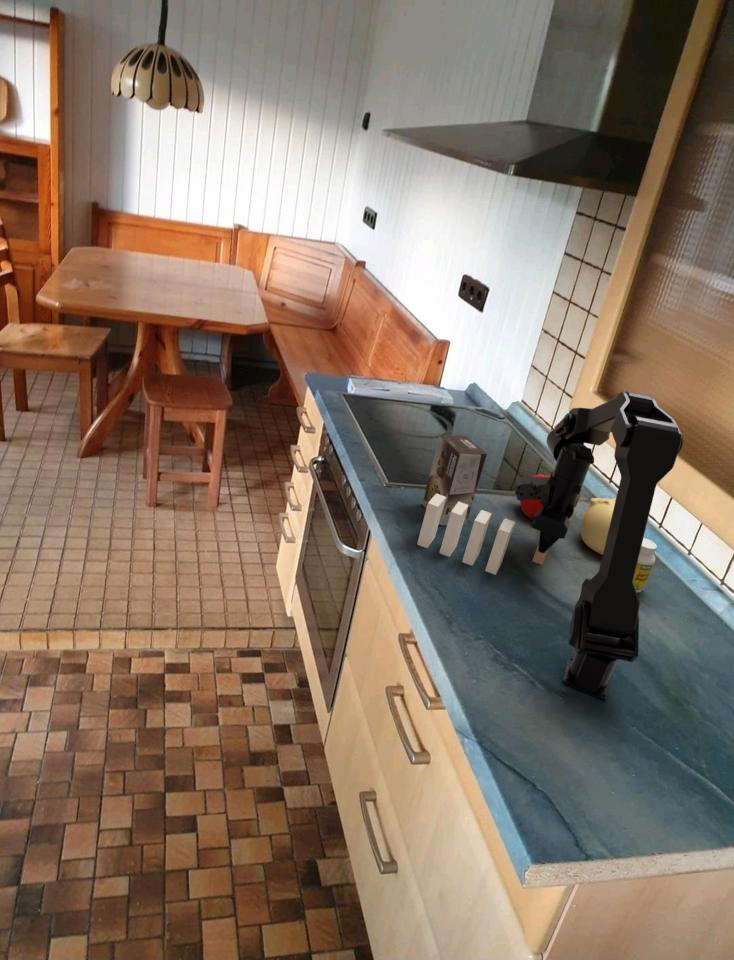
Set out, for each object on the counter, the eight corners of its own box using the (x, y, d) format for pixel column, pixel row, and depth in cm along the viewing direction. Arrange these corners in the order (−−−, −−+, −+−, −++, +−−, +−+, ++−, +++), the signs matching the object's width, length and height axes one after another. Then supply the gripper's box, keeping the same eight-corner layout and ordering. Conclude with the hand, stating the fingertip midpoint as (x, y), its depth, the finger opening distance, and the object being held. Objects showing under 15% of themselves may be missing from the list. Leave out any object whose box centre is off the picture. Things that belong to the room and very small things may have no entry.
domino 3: (472, 565, 128) (485, 524, 124) (462, 561, 129) (474, 520, 125) (479, 554, 133) (491, 513, 129) (469, 550, 133) (481, 509, 129)
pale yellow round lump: (630, 544, 149) (649, 500, 144) (630, 570, 139) (650, 524, 134) (577, 526, 152) (594, 483, 147) (573, 551, 141) (590, 505, 137)
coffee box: (467, 525, 142) (488, 454, 135) (440, 526, 140) (460, 453, 133) (447, 503, 150) (466, 434, 143) (420, 503, 147) (438, 433, 140)
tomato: (560, 536, 146) (574, 499, 142) (507, 514, 150) (519, 477, 146) (573, 519, 155) (586, 483, 151) (522, 498, 159) (533, 463, 155)
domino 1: (426, 548, 131) (438, 506, 127) (417, 544, 131) (428, 503, 128) (435, 537, 135) (446, 496, 131) (425, 533, 136) (436, 493, 132)
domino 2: (449, 557, 130) (461, 515, 126) (439, 553, 130) (451, 511, 126) (456, 545, 134) (468, 505, 130) (447, 542, 134) (458, 501, 131)
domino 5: (542, 564, 134) (557, 524, 130) (532, 561, 134) (546, 521, 130) (546, 553, 138) (561, 514, 134) (536, 550, 139) (550, 511, 135)
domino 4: (495, 575, 127) (509, 532, 123) (485, 570, 128) (498, 529, 124) (501, 562, 131) (515, 522, 127) (491, 559, 132) (504, 518, 128)
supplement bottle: (625, 574, 137) (643, 533, 132) (647, 590, 133) (667, 548, 129) (608, 579, 134) (625, 537, 129) (630, 596, 130) (649, 552, 126)
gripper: (535, 446, 139) (513, 513, 145) (516, 477, 123) (492, 551, 129) (591, 464, 135) (566, 532, 142) (579, 498, 119) (551, 574, 126)
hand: (543, 546), depth 135 cm, fingers closed on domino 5, 5 cm apart
